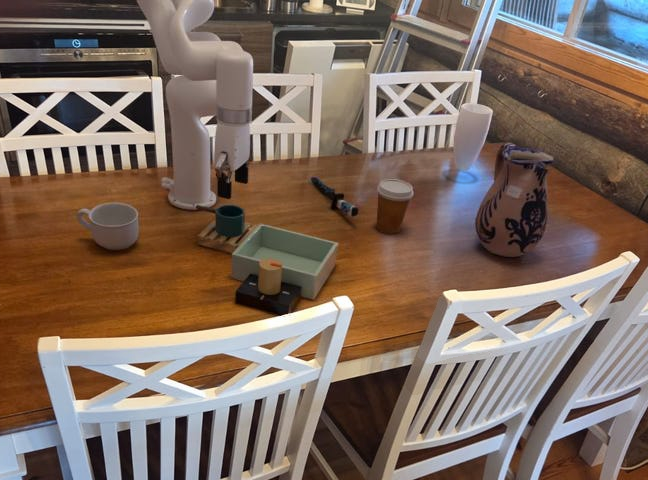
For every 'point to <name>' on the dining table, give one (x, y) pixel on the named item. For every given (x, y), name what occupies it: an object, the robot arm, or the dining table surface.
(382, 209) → the disposable coffee cup
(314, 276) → the pale green open box
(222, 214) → the pan
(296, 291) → the black dial base
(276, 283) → the tap knob
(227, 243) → the rack
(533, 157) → the ceramic pitcher
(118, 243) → the teacup
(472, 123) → the white vase
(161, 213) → the dining table surface
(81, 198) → the dining table surface
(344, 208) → the knife
